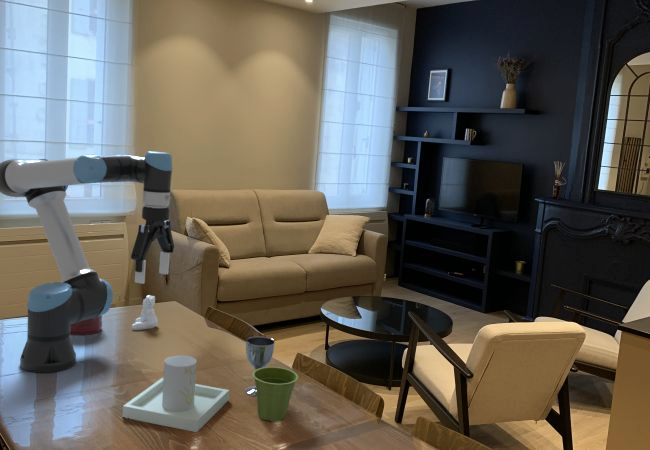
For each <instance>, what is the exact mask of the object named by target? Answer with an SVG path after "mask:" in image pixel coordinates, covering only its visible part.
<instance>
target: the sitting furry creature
mask: <svg viewBox="0 0 650 450" xmlns="http://www.w3.org/2000/svg"><path fill="white" fill-rule="evenodd" d="M155 303H156V296H155V295H151V294H148V295H146V297H145V298H143V300H142V304H141V305H142V306H143V307H142V310H141V313H140V316H139V317H138V318H135V321H134V323H133V324H132V325H131V330H132V331H141V330H143V331H144V330H151V329H154V328H155V327H157V326H158V323H159V320H158V316H156V314H155V309H154V308H153V306H154V305H155Z"/></svg>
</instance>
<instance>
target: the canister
mask: <svg viewBox="0 0 650 450" xmlns="http://www.w3.org/2000/svg"><path fill="white" fill-rule="evenodd" d="M102 327H103V315H101V316H98V317H97V318H95V319H88V320H85V321H82V322H78V323H75V324H71V330H70V335H75V336H85V335H93V334H96V333H98V332H101V330H102V329H103V328H102Z"/></svg>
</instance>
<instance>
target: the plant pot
mask: <svg viewBox="0 0 650 450" xmlns="http://www.w3.org/2000/svg"><path fill="white" fill-rule="evenodd" d="M252 377H253V379H254V384H255V385H254V386H256V393H257V397H256V402H257V403H256V404H257V405H256V406H257V415H258V417H259V418H260V419H261V420H264V421H267V420H268V421H271V422H279V421H282V420H284V419H285V418H286V416H287V412H288V408H289V405H290V400H291V397H292V392H293V390H294V388H295V384H296V382H297V381H298V379H299V375H298V374H297V373H296V372H295V371H294V370H291V369H288V368H286V367H279V366H265V367H264V368H259V369H257V370H255V369H254V370H253V372H252Z"/></svg>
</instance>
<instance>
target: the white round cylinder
mask: <svg viewBox="0 0 650 450" xmlns="http://www.w3.org/2000/svg"><path fill="white" fill-rule="evenodd" d="M197 361H198V360H197V359H196V358H195V357H193V356H190V355H179V354H178V355H171V356H168V357H166V358H165V359H164V361H163V362H164V365H163V377H162V378H163V397H162V407H163V408H164V409H166V410H168V411H173V412H181V411H187V410H189V409H191V408H193V406H194V397H195V384H196V378H197V377H196V375H197Z"/></svg>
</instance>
